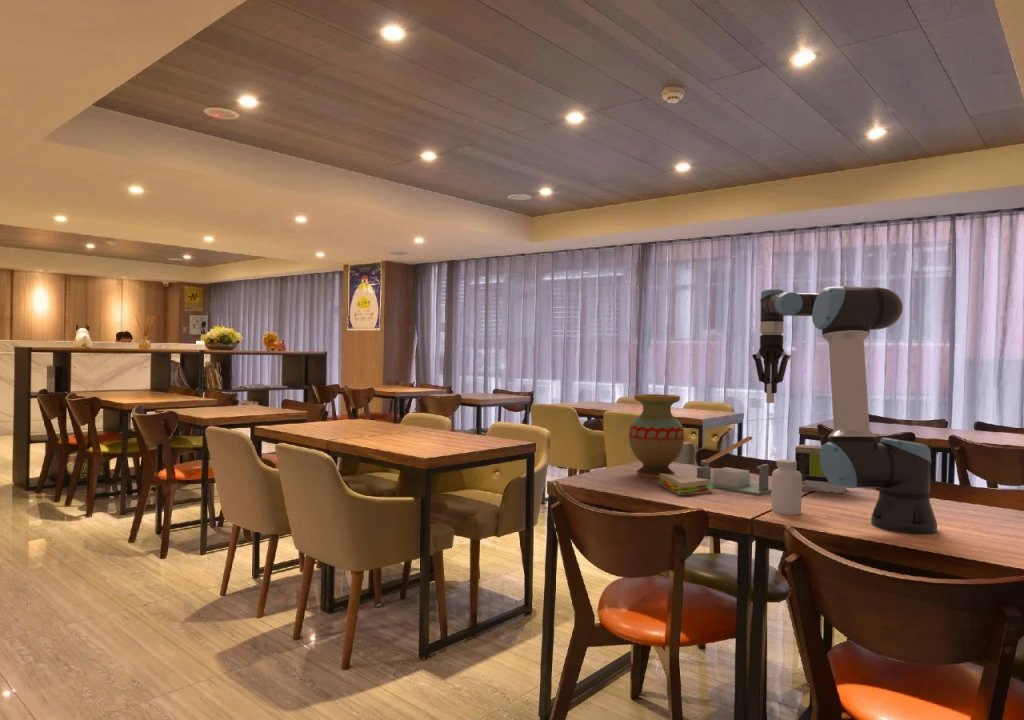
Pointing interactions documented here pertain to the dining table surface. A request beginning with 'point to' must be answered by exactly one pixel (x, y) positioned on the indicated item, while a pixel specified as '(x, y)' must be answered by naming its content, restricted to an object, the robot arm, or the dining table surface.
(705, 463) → the wooden stick
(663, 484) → the sandwich
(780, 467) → the pill bottle
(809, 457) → the tea box
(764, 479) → the heatsink board
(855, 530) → the dining table surface
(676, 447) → the vase
